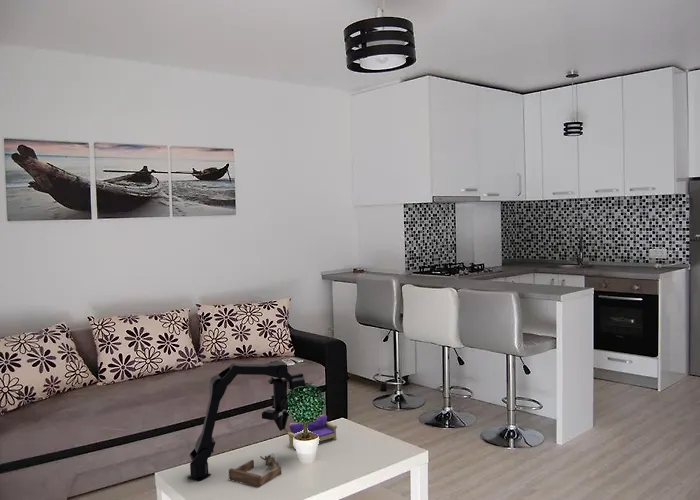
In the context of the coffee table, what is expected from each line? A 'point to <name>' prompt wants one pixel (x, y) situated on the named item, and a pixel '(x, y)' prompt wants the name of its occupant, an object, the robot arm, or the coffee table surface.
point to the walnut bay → (252, 475)
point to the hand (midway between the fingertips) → (282, 430)
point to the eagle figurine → (270, 461)
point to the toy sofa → (315, 429)
